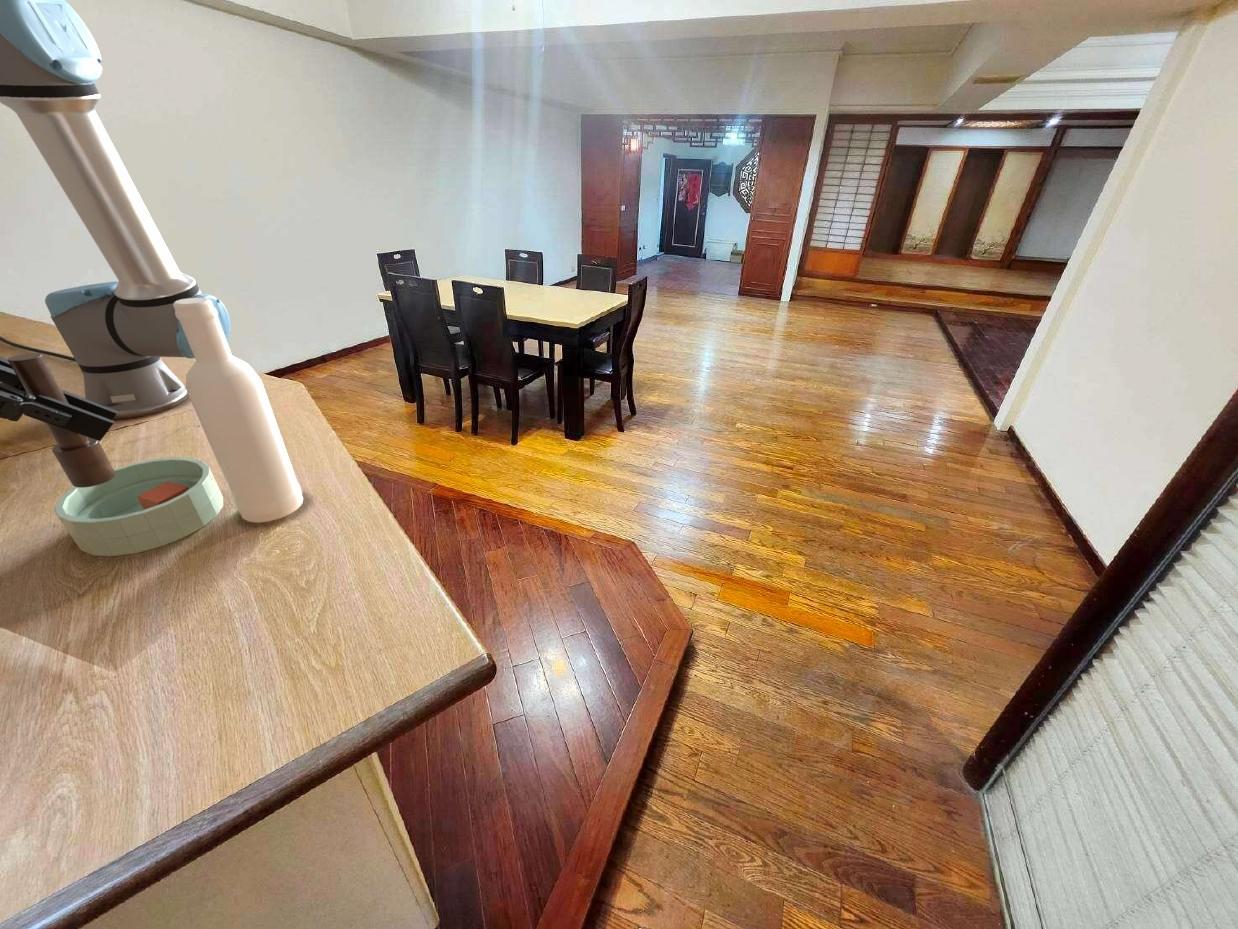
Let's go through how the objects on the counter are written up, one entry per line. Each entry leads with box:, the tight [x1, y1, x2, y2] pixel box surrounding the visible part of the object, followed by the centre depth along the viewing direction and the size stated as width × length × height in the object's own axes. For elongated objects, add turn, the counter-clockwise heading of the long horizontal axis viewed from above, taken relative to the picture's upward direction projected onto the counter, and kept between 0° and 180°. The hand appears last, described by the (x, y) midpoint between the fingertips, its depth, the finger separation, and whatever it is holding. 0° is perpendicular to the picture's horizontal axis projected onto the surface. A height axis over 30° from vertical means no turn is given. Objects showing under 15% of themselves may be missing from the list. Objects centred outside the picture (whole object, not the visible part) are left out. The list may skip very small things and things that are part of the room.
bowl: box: [53, 456, 224, 557], centre depth 68 cm, size 16×16×6 cm
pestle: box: [6, 352, 116, 488], centre depth 58 cm, size 4×4×16 cm
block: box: [137, 482, 189, 510], centre depth 69 cm, size 4×4×4 cm
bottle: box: [173, 298, 304, 523], centre depth 65 cm, size 8×8×30 cm
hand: (108, 425), depth 61 cm, fingers closed on pestle, 3 cm apart
